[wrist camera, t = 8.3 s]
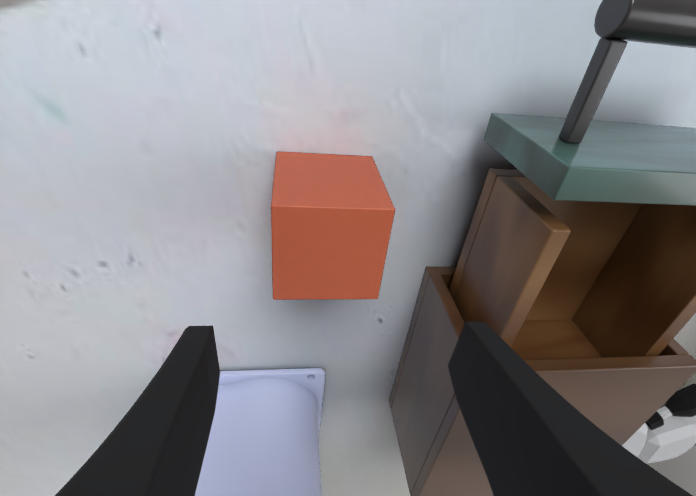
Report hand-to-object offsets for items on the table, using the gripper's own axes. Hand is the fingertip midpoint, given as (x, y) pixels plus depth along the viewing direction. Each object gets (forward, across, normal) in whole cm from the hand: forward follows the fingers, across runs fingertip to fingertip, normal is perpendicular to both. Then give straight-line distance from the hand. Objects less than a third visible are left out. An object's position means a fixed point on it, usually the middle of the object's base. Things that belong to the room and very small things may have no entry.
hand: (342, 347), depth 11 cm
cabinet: (+9, -12, +11) cm, 19 cm away
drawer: (+8, -12, -1) cm, 15 cm away
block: (+9, 0, 0) cm, 9 cm away
